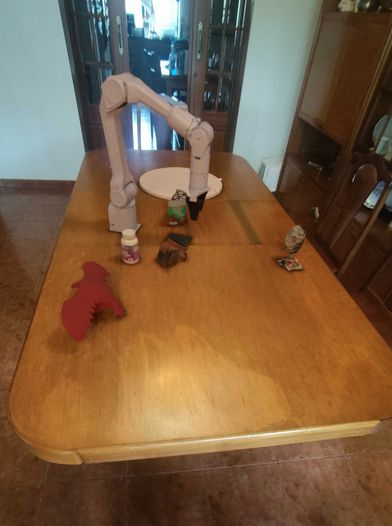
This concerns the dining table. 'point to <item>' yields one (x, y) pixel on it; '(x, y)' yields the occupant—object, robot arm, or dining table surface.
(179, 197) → the food container
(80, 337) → the red lobster claw
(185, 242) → the coaster
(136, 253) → the pill bottle
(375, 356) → the dining table surface
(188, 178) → the lazy susan
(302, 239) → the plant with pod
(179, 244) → the pottery mug
